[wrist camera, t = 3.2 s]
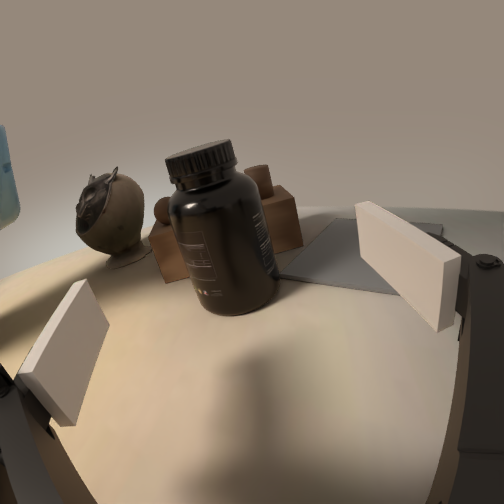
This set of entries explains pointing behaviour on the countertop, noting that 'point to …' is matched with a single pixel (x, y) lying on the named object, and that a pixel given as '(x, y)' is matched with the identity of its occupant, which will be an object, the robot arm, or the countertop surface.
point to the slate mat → (342, 259)
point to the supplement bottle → (221, 230)
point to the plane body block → (276, 212)
